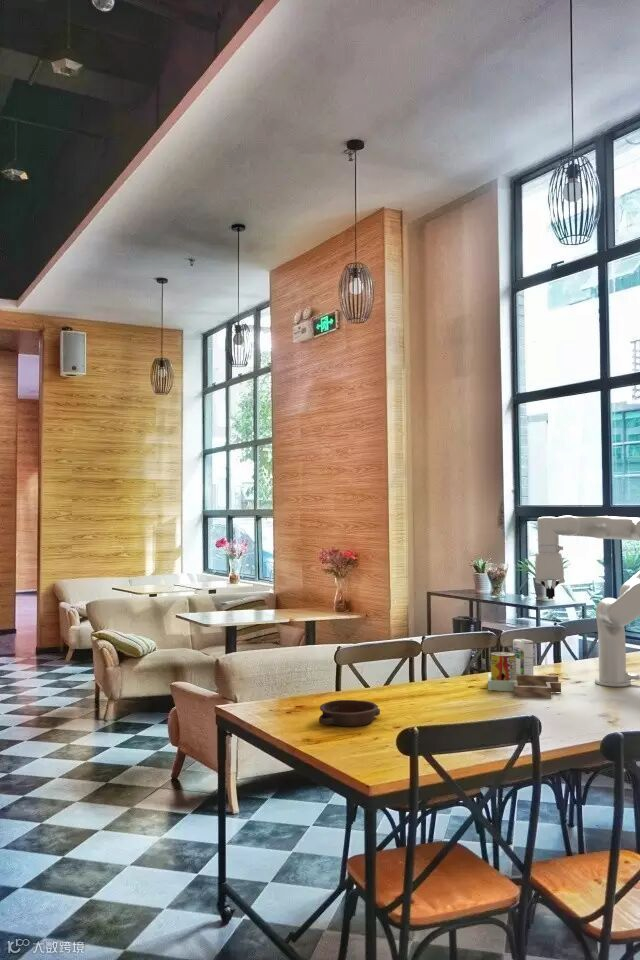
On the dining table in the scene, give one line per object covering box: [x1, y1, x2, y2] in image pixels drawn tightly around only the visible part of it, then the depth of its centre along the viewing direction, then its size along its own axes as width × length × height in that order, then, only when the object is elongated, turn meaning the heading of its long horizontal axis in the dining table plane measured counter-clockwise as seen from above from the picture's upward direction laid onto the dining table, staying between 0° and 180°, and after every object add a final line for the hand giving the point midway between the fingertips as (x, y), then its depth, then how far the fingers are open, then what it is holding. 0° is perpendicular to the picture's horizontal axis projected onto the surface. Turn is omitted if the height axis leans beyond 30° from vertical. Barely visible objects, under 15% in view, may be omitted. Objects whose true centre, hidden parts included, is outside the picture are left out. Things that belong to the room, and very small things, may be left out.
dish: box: [318, 699, 381, 728], centre depth 242 cm, size 17×22×5 cm
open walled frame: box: [513, 674, 562, 698], centre depth 285 cm, size 24×22×4 cm
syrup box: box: [512, 638, 534, 675], centre depth 309 cm, size 6×6×14 cm
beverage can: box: [490, 651, 516, 681], centre depth 291 cm, size 9×9×12 cm
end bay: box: [487, 672, 517, 692], centre depth 291 cm, size 10×14×4 cm
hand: (550, 598), depth 298 cm, fingers closed
